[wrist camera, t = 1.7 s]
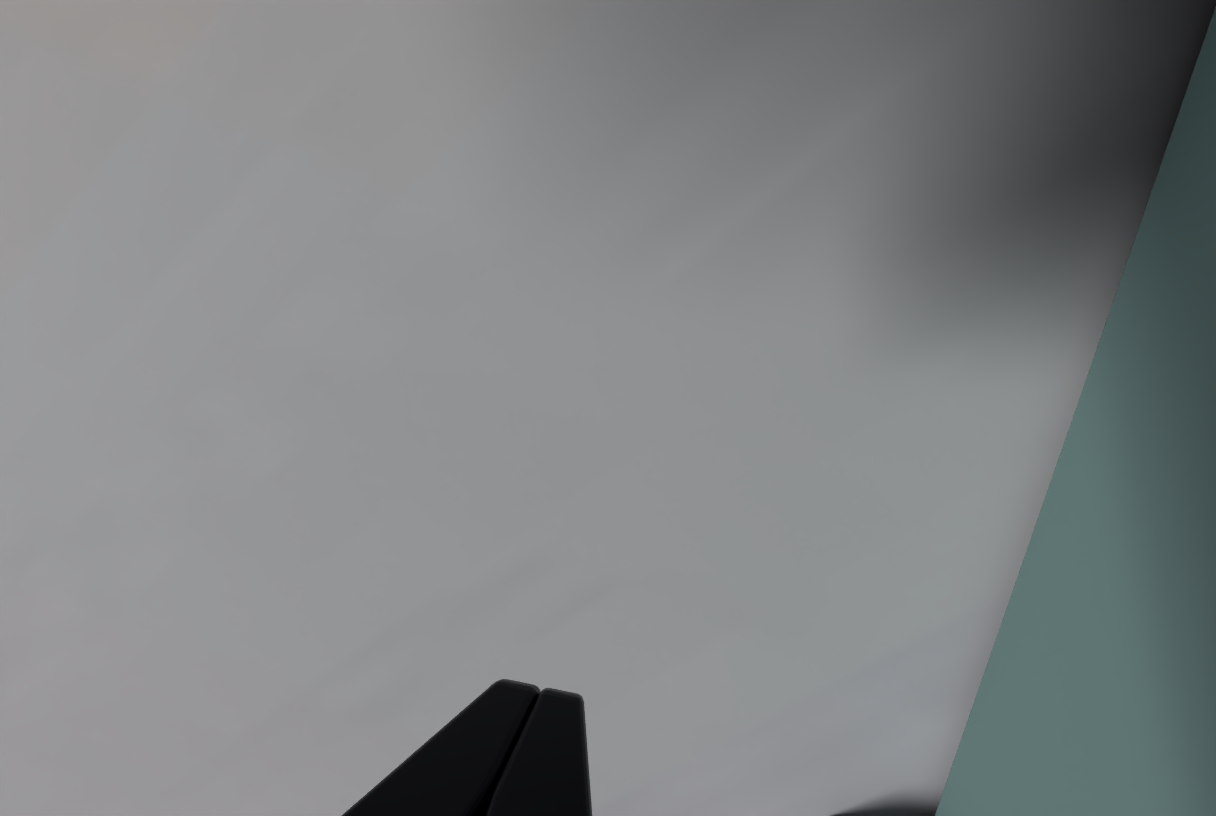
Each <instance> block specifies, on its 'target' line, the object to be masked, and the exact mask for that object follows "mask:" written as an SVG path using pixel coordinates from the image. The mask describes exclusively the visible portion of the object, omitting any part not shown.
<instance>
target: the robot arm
mask: <svg viewBox="0 0 1216 816" xmlns="http://www.w3.org/2000/svg"><path fill="white" fill-rule="evenodd" d="M342 816H592V806H591V793H590V779H589V765H588V752H587V738H586V724H585V711H584V701H583V698H582V696H580V695H579V694H576V693H571V692H567V691H562V690H557V689H552V688H545V689H543V690H542V691H540V689H539V688H538V687H537V686H535V685H532V684H527V683H523V682H518V681H513V680H508V679H502V680H499V681H497V682H495V683H494V684H492V685H491V686H490V687H489V688H488V689H487V690H486V691H484V692H483V693H482V694H481V695H480V696H479V697H478V698H476V699H475V700H474V701H473V702H472V703H471V704H470V705H468V706H467V707H466V708H465V709H464V710H463V711H461V712H460V713H459V714H458V715H457V716H456V717H455V718H453V719H452V720H451V721H450V722H449V723H448V724H447V725H445V726H444V727H443V728H442V729H441V730H440V731H438V732H437V733H436V734H435V735H434V736H433V737H432V738H430V739H429V740H428V741H427V742H426V743H425V744H424V745H422V746H421V747H420V748H419V749H418V750H417V751H415V752H414V753H413V754H412V755H411V756H410V757H409V758H407V759H406V760H405V761H404V762H403V763H402V764H401V765H399V766H398V767H397V768H396V769H395V770H394V771H392V772H391V773H390V774H389V775H388V776H387V777H386V778H384V779H383V780H382V781H381V782H380V783H379V784H378V785H376V786H375V787H374V788H373V789H372V790H371V791H370V792H368V793H367V794H366V795H365V796H364V797H363V798H361V799H360V800H359V801H358V802H357V803H356V804H355V805H353V806H352V807H351V808H350V809H349V810H348V811H347V812H345V813H344V814H343V815H342Z"/></svg>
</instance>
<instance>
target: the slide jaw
mask: <svg viewBox="0 0 1216 816" xmlns="http://www.w3.org/2000/svg"><path fill="white" fill-rule="evenodd" d="M935 816H1216V7H1215V10H1214V13H1213V16H1212V19H1211V22H1210V25H1209V27H1208V30H1207V33H1206V36H1205V39H1204V42H1203V45H1202V48H1201V50H1200V53H1199V56H1198V59H1197V62H1196V65H1195V68H1194V71H1193V73H1192V76H1191V79H1190V82H1189V85H1188V88H1187V91H1186V94H1185V97H1184V99H1183V102H1182V105H1181V108H1180V111H1179V114H1178V117H1177V120H1176V122H1175V125H1174V128H1173V131H1172V134H1171V137H1170V140H1169V143H1168V145H1167V148H1166V151H1165V154H1164V157H1163V160H1162V163H1161V166H1160V169H1159V171H1158V174H1157V177H1156V180H1155V183H1154V186H1153V189H1152V192H1151V194H1150V197H1149V200H1148V203H1147V206H1146V209H1145V212H1144V215H1143V218H1142V220H1141V223H1140V226H1139V229H1138V232H1137V235H1136V238H1135V241H1134V243H1133V246H1132V249H1131V252H1130V255H1129V258H1128V261H1127V264H1126V266H1125V269H1124V272H1123V275H1122V278H1121V281H1120V284H1119V287H1118V290H1117V292H1116V295H1115V298H1114V301H1113V304H1112V307H1111V310H1110V313H1109V315H1108V318H1107V321H1106V324H1105V327H1104V330H1103V333H1102V336H1101V338H1100V341H1099V344H1098V347H1097V350H1096V353H1095V356H1094V359H1093V362H1092V364H1091V367H1090V370H1089V373H1088V376H1087V379H1086V382H1085V385H1084V387H1083V390H1082V393H1081V396H1080V399H1079V402H1078V405H1077V408H1076V411H1075V413H1074V416H1073V419H1072V422H1071V425H1070V428H1069V431H1068V434H1067V436H1066V439H1065V442H1064V445H1063V448H1062V451H1061V454H1060V457H1059V459H1058V462H1057V465H1056V468H1055V471H1054V474H1053V477H1052V480H1051V483H1050V485H1049V488H1048V491H1047V494H1046V497H1045V500H1044V503H1043V506H1042V508H1041V511H1040V514H1039V517H1038V520H1037V523H1036V526H1035V529H1034V532H1033V534H1032V537H1031V540H1030V543H1029V546H1028V549H1027V552H1026V555H1025V557H1024V560H1023V563H1022V566H1021V569H1020V572H1019V575H1018V578H1017V580H1016V583H1015V586H1014V589H1013V592H1012V595H1011V598H1010V601H1009V604H1008V606H1007V609H1006V612H1005V615H1004V618H1003V621H1002V624H1001V627H1000V629H999V632H998V635H997V638H996V641H995V644H994V647H993V650H992V652H991V655H990V658H989V661H988V664H987V667H986V670H985V673H984V676H983V678H982V681H981V684H980V687H979V690H978V693H977V696H976V699H975V701H974V704H973V707H972V710H971V713H970V716H969V719H968V722H967V725H966V727H965V730H964V733H963V736H962V739H961V742H960V745H959V748H958V750H957V753H956V756H955V759H954V762H953V765H952V768H951V771H950V773H949V776H948V779H947V782H946V785H945V788H944V791H943V794H942V797H941V799H940V802H939V805H938V808H937V811H936V814H935Z"/></svg>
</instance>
